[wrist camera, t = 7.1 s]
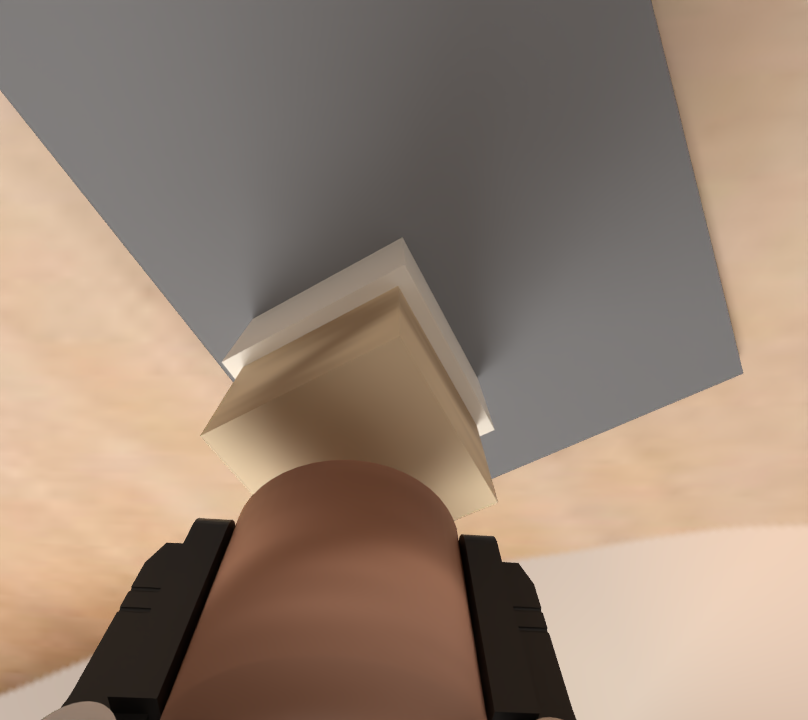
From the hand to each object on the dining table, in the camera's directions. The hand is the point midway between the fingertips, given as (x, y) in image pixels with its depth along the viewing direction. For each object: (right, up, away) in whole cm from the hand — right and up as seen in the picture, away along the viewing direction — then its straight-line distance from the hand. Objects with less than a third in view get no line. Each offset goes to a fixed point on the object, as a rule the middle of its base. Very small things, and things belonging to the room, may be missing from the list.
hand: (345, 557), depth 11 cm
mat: (+1, +11, +8) cm, 14 cm away
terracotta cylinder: (0, 0, 0) cm, 0 cm away
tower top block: (0, +3, +6) cm, 7 cm away
